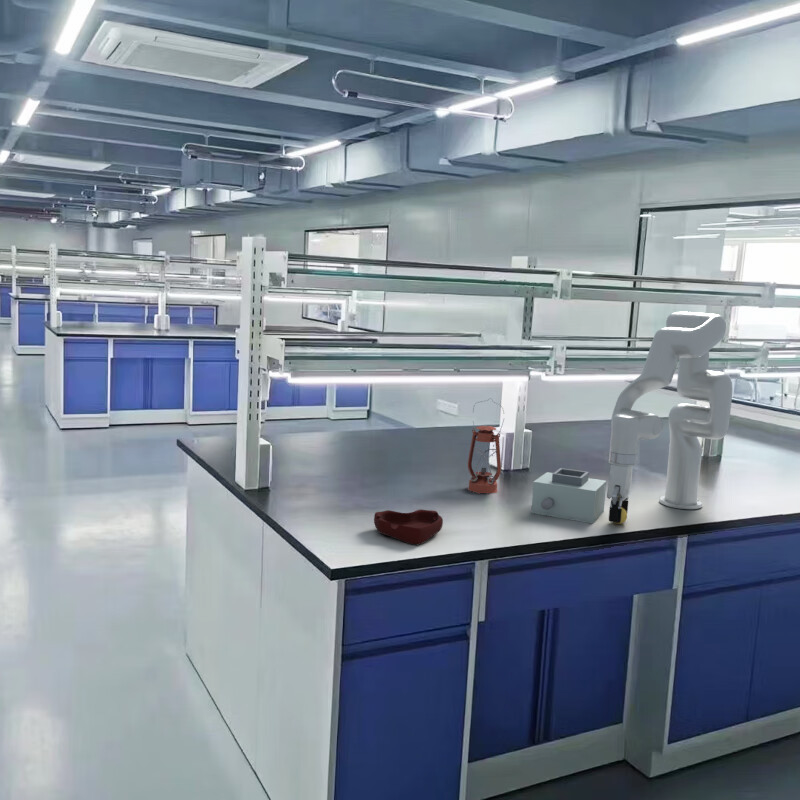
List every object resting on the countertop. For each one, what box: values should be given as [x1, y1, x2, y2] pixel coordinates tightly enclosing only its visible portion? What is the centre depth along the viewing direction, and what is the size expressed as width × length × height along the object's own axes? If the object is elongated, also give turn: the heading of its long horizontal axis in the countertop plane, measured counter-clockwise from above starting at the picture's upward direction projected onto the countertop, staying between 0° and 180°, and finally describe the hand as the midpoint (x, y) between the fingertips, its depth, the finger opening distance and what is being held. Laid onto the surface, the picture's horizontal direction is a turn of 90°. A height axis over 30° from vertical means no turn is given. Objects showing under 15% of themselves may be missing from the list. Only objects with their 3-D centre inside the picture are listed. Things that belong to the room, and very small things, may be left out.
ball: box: [613, 507, 628, 525], centre depth 220 cm, size 5×5×5 cm
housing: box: [530, 467, 607, 524], centre depth 227 cm, size 17×18×12 cm
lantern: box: [467, 397, 505, 495], centre depth 248 cm, size 10×10×30 cm
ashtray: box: [373, 508, 444, 546], centre depth 202 cm, size 18×16×5 cm
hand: (618, 517), depth 220 cm, fingers open, 9 cm apart
